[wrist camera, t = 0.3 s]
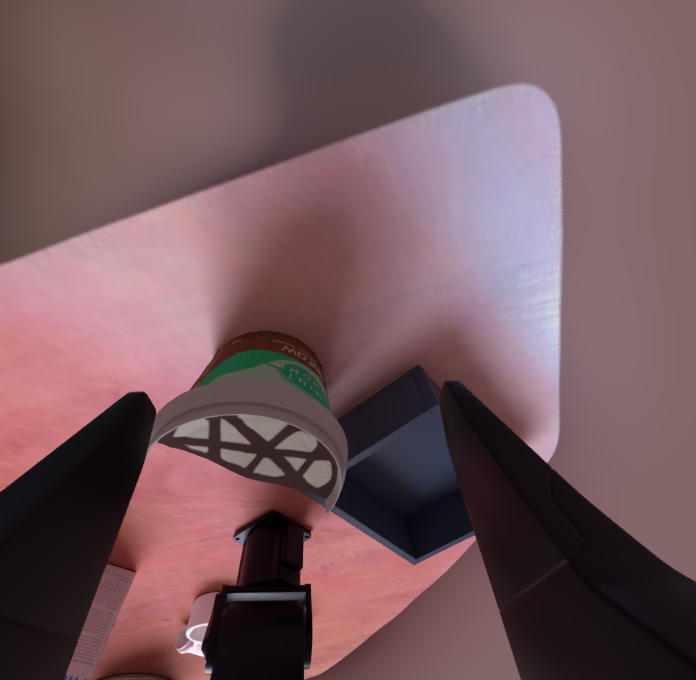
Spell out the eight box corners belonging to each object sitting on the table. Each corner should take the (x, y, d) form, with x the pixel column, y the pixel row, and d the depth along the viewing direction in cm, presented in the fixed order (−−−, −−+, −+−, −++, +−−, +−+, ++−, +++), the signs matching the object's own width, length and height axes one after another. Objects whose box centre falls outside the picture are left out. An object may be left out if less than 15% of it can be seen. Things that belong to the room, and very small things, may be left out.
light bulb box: (96, 606, 42) (34, 734, 33) (40, 593, 40) (-45, 728, 30) (139, 571, 39) (84, 701, 30) (81, 553, 37) (1, 690, 27)
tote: (402, 518, 39) (414, 565, 34) (301, 443, 31) (299, 491, 27) (504, 463, 36) (531, 507, 31) (418, 364, 28) (438, 403, 23)
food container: (368, 361, 27) (393, 458, 19) (328, 410, 30) (334, 516, 21) (229, 286, 23) (178, 365, 14) (194, 350, 25) (133, 451, 17)
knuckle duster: (159, 621, 46) (226, 578, 42) (258, 649, 53) (323, 615, 49) (148, 653, 43) (219, 610, 39) (255, 678, 50) (323, 644, 46)
